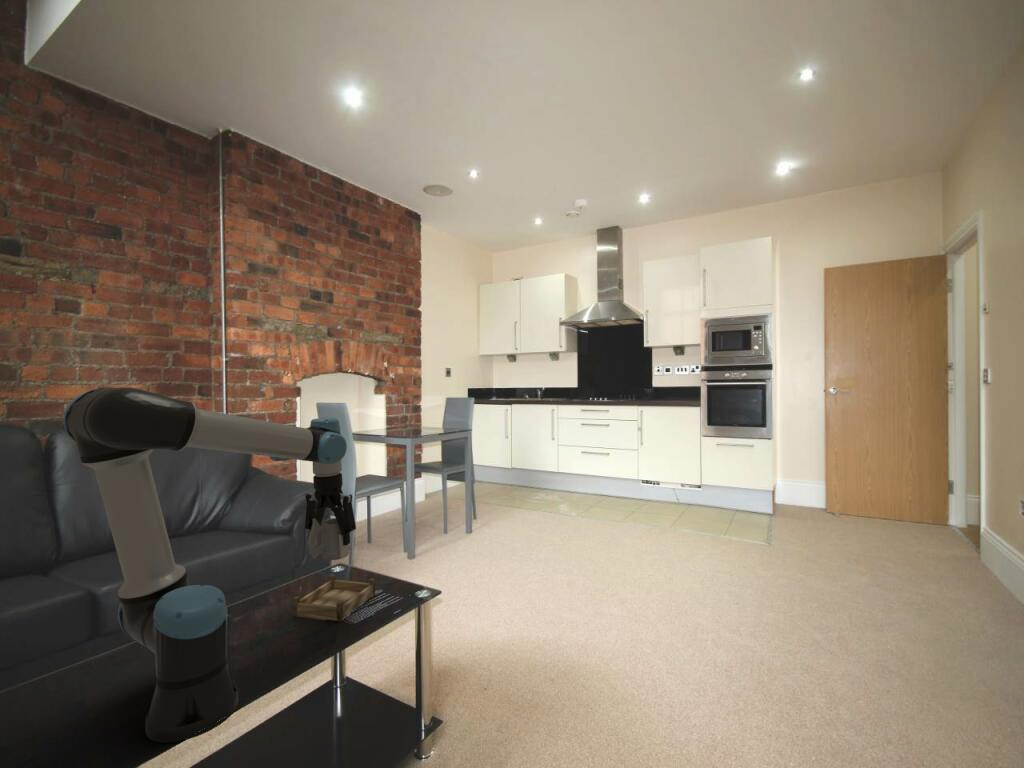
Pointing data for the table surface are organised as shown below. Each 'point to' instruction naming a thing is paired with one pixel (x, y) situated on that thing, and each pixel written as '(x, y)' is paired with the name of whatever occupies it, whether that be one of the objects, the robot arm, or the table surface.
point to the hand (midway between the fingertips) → (331, 555)
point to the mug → (326, 540)
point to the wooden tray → (333, 599)
